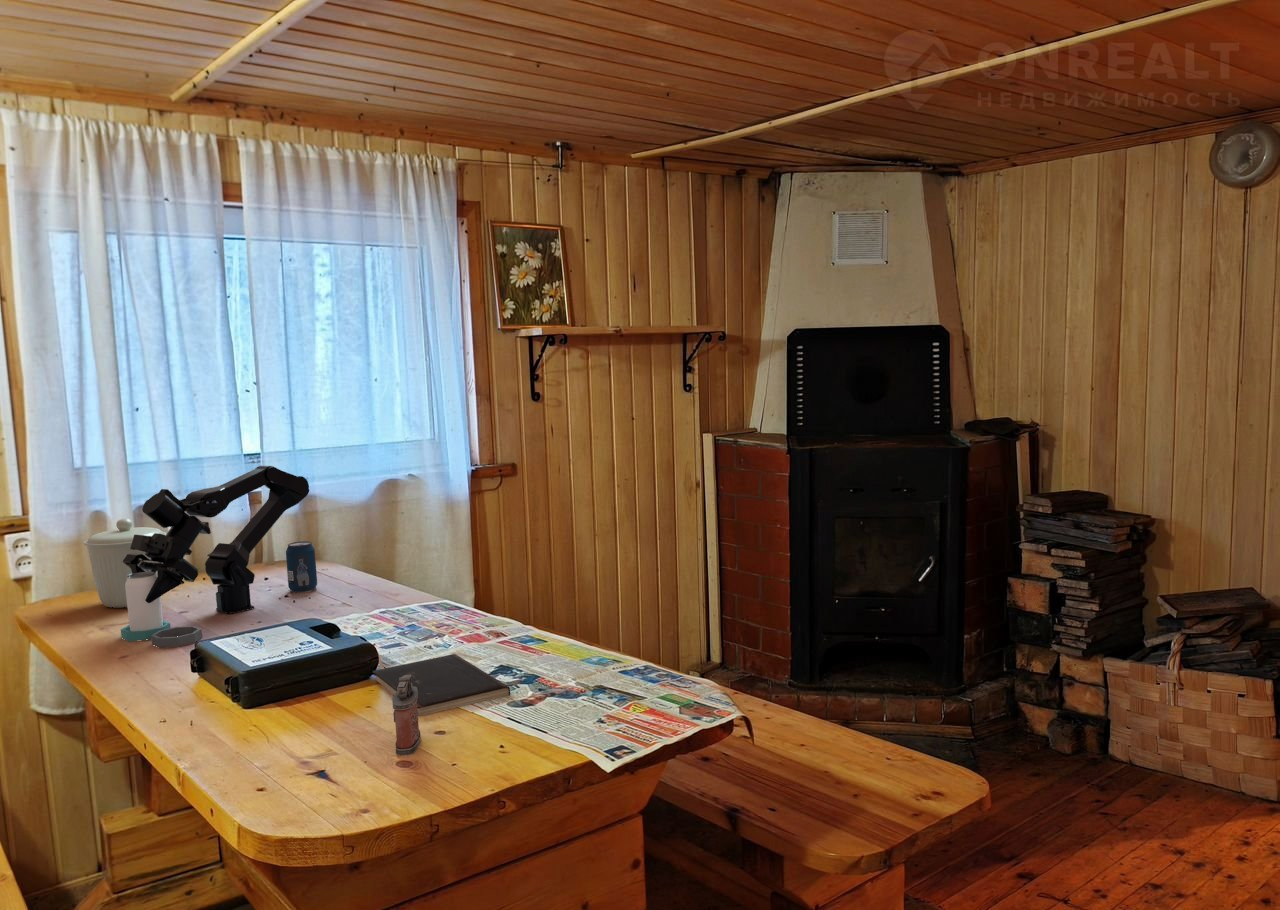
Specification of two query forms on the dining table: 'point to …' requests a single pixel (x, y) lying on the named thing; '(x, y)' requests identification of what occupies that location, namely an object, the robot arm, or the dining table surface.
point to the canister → (114, 560)
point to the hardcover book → (444, 683)
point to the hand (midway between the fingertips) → (137, 600)
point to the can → (142, 602)
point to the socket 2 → (170, 636)
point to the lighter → (406, 717)
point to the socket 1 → (141, 632)
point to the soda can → (301, 567)
